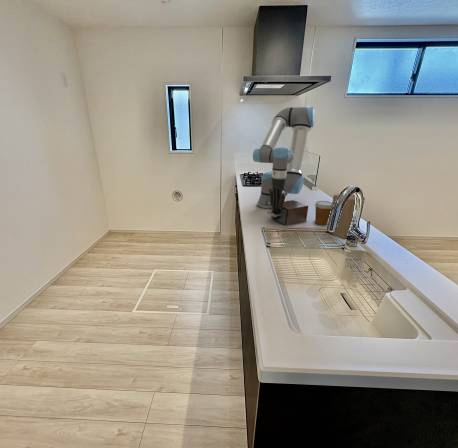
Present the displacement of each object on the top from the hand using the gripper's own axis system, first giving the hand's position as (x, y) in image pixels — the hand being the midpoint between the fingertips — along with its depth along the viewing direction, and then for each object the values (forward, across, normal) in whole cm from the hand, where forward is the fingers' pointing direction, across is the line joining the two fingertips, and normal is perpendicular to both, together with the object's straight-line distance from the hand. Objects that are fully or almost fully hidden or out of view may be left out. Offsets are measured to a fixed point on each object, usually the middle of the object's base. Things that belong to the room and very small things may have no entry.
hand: (275, 219), depth 136 cm
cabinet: (+2, 0, +11) cm, 11 cm away
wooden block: (+3, +27, +22) cm, 35 cm away
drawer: (+1, 0, +6) cm, 6 cm away
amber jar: (+3, +12, +24) cm, 27 cm away
